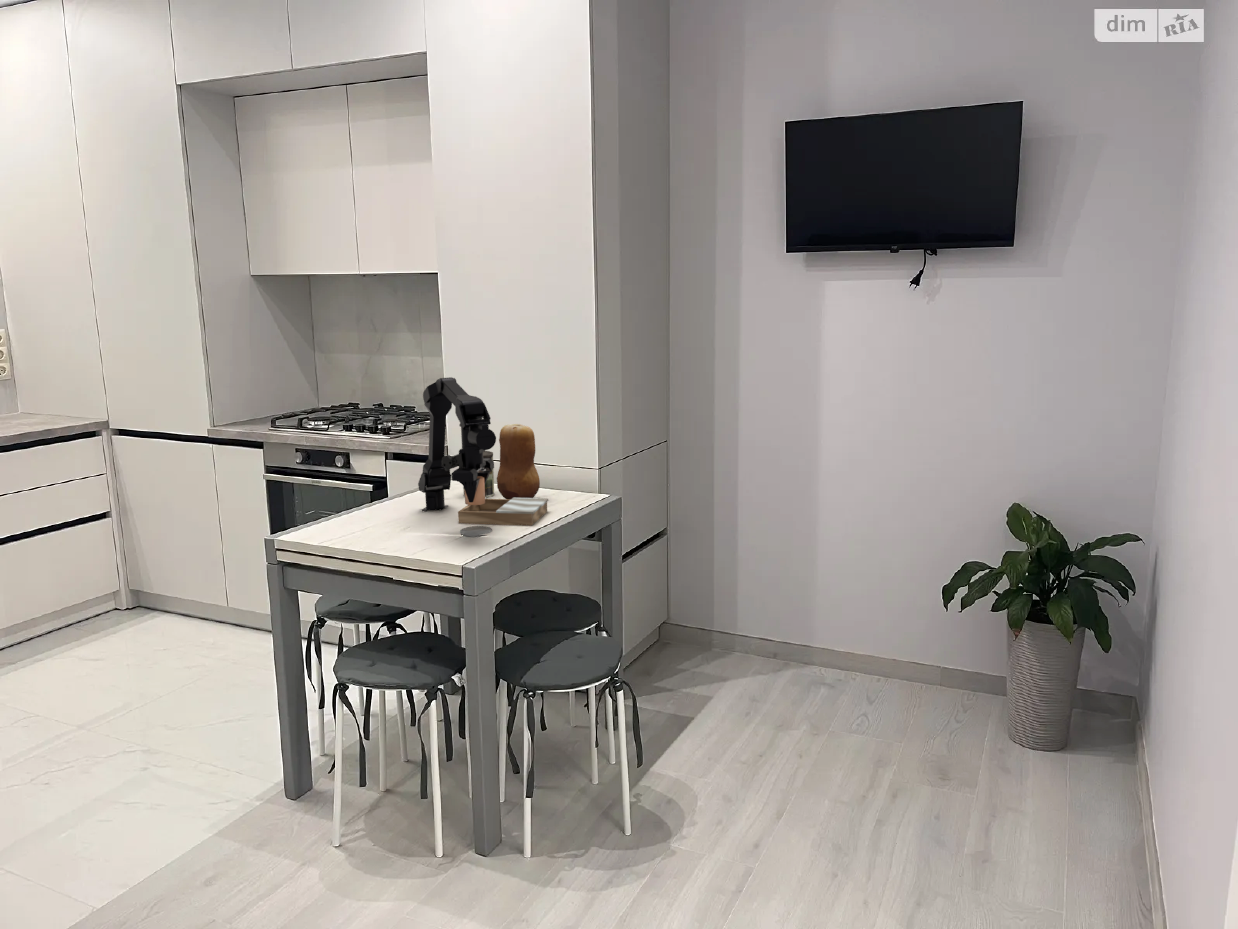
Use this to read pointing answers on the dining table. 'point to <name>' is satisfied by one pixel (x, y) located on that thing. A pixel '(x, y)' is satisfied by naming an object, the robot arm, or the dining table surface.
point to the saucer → (475, 531)
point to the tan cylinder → (478, 494)
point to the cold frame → (505, 511)
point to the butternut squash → (517, 463)
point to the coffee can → (490, 481)
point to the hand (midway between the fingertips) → (474, 499)
